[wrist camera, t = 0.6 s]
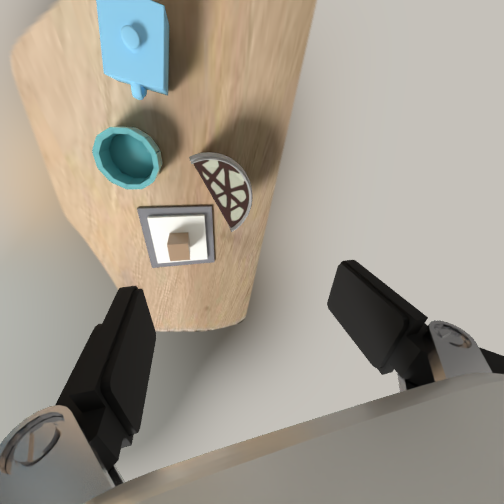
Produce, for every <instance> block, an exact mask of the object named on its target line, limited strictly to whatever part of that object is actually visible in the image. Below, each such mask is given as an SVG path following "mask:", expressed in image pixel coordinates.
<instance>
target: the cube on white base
mask: <svg viewBox="0 0 504 504" xmlns="http://www.w3.org/2000/svg"><path fill="white" fill-rule="evenodd" d="M147 219H148V223H149V227H150V232H151V236H152V240H153V245H154V249H155V253H156V258H157V262H158V263H169V262H181V261H193V260H204V259H207V245H206V232H205V218H204V214H198V215H171V216H148V218H147Z"/></svg>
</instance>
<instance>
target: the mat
mask: <svg viewBox="0 0 504 504" xmlns="http://www.w3.org/2000/svg"><path fill="white" fill-rule="evenodd" d="M137 210H138V214H139V218H140V222H141V226H142V230H143V234H144V238H145V242H146V246H147V250H148V254H149V258H150V262H151V265H152V268H155V267H166V266H177V265H188V264H199V263H210V262H214V243H213V224H212V206H183V207H146V208H137ZM198 214H204V218H205V232H206V245H207V259H204V260H193V261H181V262H169V263H158V262H157V258H156V253H155V249H154V245H153V240H152V236H151V232H150V227H149V223H148V219H147V218H148V216H171V215H198Z"/></svg>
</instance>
